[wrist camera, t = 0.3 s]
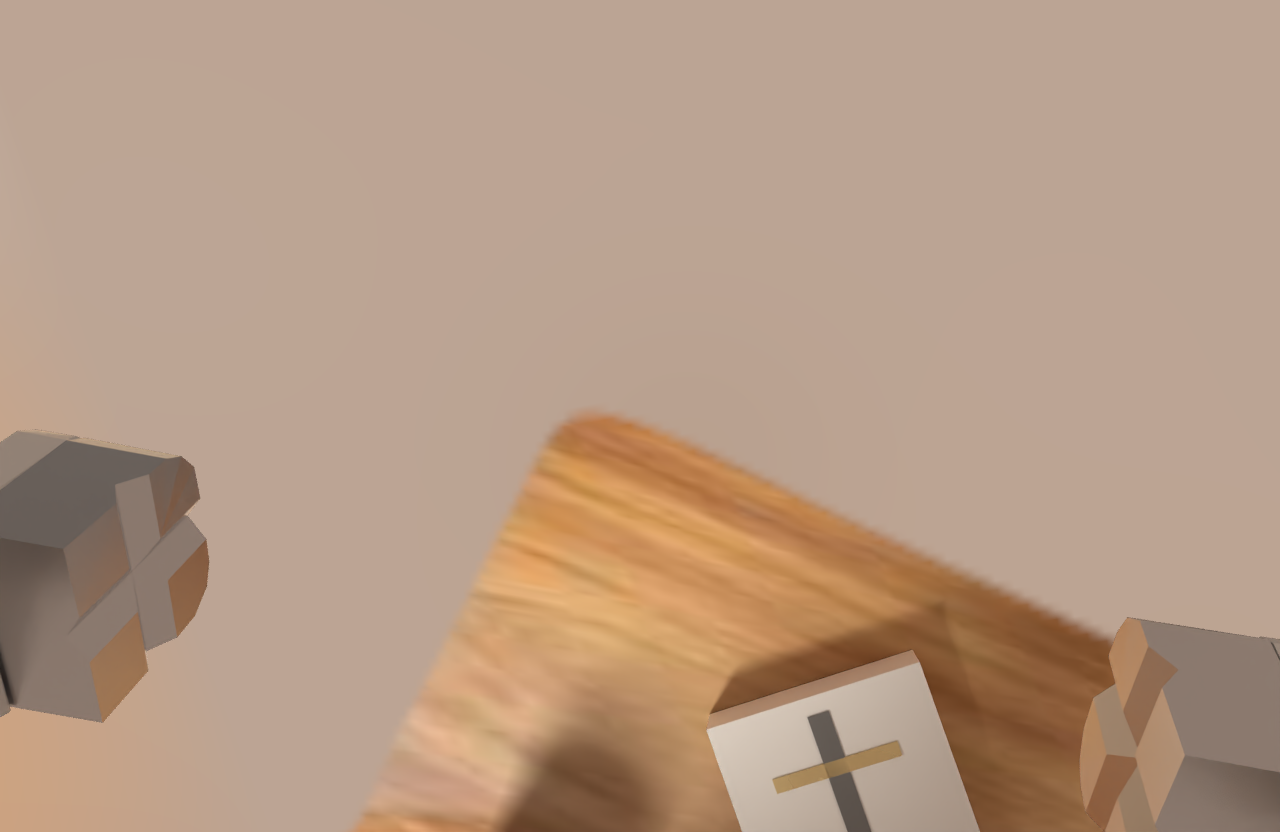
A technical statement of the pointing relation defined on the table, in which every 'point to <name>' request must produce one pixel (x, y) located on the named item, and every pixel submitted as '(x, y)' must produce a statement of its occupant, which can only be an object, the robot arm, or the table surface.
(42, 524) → the robot arm
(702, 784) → the table surface
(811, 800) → the slider panel
